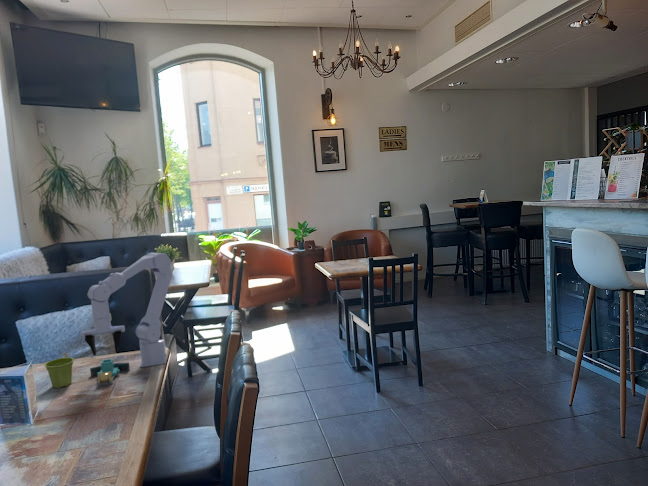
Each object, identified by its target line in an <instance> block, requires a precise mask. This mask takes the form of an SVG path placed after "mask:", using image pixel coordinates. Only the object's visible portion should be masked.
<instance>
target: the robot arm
mask: <svg viewBox="0 0 648 486" xmlns="http://www.w3.org/2000/svg"><path fill="white" fill-rule="evenodd" d="M171 263H172V260H171V258H170V257H169V256H168V255H167V254H166V253H163V252H153V251H152V252H148V253H147V254H145V255H143V256H142V257H140V258H139V259H137V261H135V262H134V263H132V264H131V265H130V266H128V267H127V268H125V269H124V270H123V271H121V272H117V271H116V272H111V273H109V276H108V277H106V278H105V279H103V280H99V281H98V284H94V285H91V286H90V287H89V289H88V292H87V294H86V295H87V297H88V299H90V304H91V312H92V320H93V328H92V329H87V330H82V331H81V332H80V333H81V338H84V341H85V342H86V344H87V345H88V346H89V348H90V350H91V352H92V355H93V356H96V355H97V348H96V340H95V336H99V335H106V334H113V339H114V348H115V353H118V352H119V349H120V348H119V345H120V339H121V337H122V334H123V333H124V332H125V331H126V327H125V325H112V323H111V320H112V319H111V314H110V306H109V299H110V296H111V295H112V294H113V293H115V292H116V291H118V290H119V289H120V288H123V287H124V286H125V285H126V282H127V280H129V279H130V278H132V277H134V276H135V275H136V274H138V273H140V272H142V271H144V270H147V269H148V270H151V271H152V272H153V274H154V275H155V276H156V280H155V283H154V286H153V289H152V293H151V295H150V300H149V303H148V306H147V310H146V313H145V315H144V316H143V317H142V318H141V320H140V322H139V324H138V325H137V327H136V328H135V335H136V337H137V338H138V339H139V341H138V342H139V351H140V358H141V359H140V360H141V361H140V364H139V367H140V368H144V367H145V368H146V367H150V366H157V365H164V364H166V362H167V352H166V344H165V339H164V338H163V339H160V337H161V335H162V331H161V327H162V323H161V319H160V317H161V314H162V310H163V308H164V307H163V306H164V303H165V300H166V297H167V293H168V291H169V287H170V283H171V280H172V276H173V274H172V267H171Z"/></svg>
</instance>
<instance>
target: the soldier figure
mask: <svg viewBox="0 0 648 486" xmlns="http://www.w3.org/2000/svg"><path fill="white" fill-rule="evenodd" d="M61 355H62V356H61V358H66V357H69V356H70V354H69V353H67V352H61Z"/></svg>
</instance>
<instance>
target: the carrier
mask: <svg viewBox="0 0 648 486" xmlns="http://www.w3.org/2000/svg"><path fill="white" fill-rule="evenodd" d="M113 363H114V368H117V367H118V369H119V370H120V372H128V371H130V369H131V367H130V362H128V361H127V362H113ZM101 370H102V367H101V365H97V366H94V367H89V371H90V372H89V373H90V376H91V377H95V376H97V373H98V372H100V371H101ZM116 376H117V374H116V375H115V376H112V371H107V372H102V373H99V374H98V376H97V380H98V381H97V387H103V386H110V385H113V383H114V381H115V379H116Z"/></svg>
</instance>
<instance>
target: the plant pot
mask: <svg viewBox="0 0 648 486" xmlns="http://www.w3.org/2000/svg"><path fill="white" fill-rule="evenodd" d="M73 364H74V358H73V357H69V356H68V357H66V358H62V357H59V358H56V359H52V360H50V361H48V362H45V364H44V367H45V368H46V370H47V372H48V376H49V379H50V383H51V386H52V388H54V389H60V388H62V387H68V386H69V385H71V384H72V380H73V379H72V375H73V374H72V373H73Z"/></svg>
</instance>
